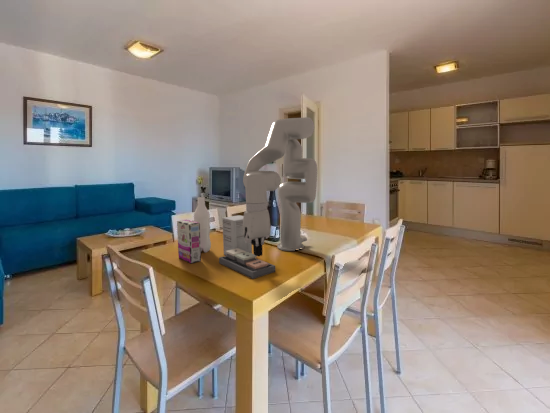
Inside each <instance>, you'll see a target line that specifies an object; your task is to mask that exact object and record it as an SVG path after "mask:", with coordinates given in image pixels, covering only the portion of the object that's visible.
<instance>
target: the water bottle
mask: <svg viewBox="0 0 550 413" xmlns="http://www.w3.org/2000/svg"><path fill="white" fill-rule="evenodd" d="M205 201H206V200H205V197H204V196H201V197H199V196H198V197H197V202H196V203H197V206H196V208H195V211H194V212H193V221H194V222H198V223H200V248H201V253H202V252H203V253H209V251H210V250H211V246H212V242H211V237H210V233H211V221H210V220H211V218H210V217H211V214H210V212H209V209H208V208H207V206H206V202H205Z"/></svg>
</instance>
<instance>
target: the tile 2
mask: <svg viewBox="0 0 550 413" xmlns="http://www.w3.org/2000/svg"><path fill="white" fill-rule="evenodd" d="M235 257H237V262H239V263H242V264H244V265H245V264H246V263H247V262H250V261H254V260H255V258H257V257H258V256H256V255H254V253H253V252H252V253H249V252H245V253H241V254H236V255H235Z"/></svg>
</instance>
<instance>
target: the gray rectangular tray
mask: <svg viewBox="0 0 550 413" xmlns="http://www.w3.org/2000/svg"><path fill="white" fill-rule="evenodd" d="M258 259H259V258H257V257H255V260H258ZM260 260H261V261H263V260H262V259H260ZM218 263H219V264H220V265H221V266H224V267H226V268H228V269H231V270H233V271H235V272H236V273H240V274H241V275H244V276H246V277H247V278H250V279H252V280H254V279H258V278H262V277H263V276H264V277H265V276H266V275H269V274H273V273H276V265H274V264H273V263H269V262H267V263H268V265H267V267H266V268H263V269H259V270H256V271H251V270H249V269H247V265H246V264H245V265H244V264H242V263H239V262H237V260H232V259H230V258H228V257H227V256H226V255H223V256H220V257H218Z"/></svg>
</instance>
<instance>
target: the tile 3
mask: <svg viewBox="0 0 550 413" xmlns="http://www.w3.org/2000/svg"><path fill="white" fill-rule="evenodd" d="M257 259H258V260H254V261H250V262H247V263H246V265H247V269H249V270H251V271H256V270H259V269H263V268H266V267H267V265H268V263H269V262H267V261H264V260H262V259H259V258H257ZM261 260H262V261H261Z"/></svg>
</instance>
